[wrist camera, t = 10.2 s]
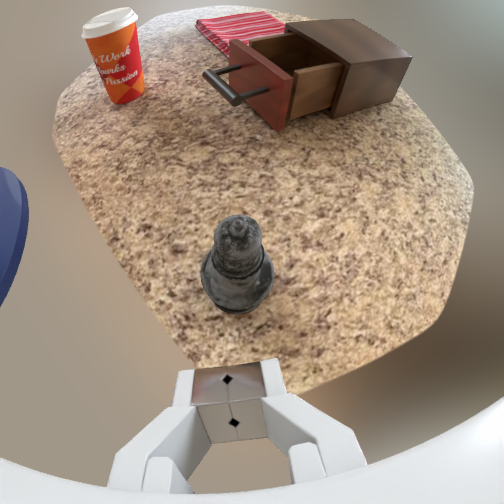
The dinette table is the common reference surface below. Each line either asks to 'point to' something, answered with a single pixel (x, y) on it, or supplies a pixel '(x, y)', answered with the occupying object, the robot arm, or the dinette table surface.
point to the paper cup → (116, 53)
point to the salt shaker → (237, 266)
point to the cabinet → (357, 62)
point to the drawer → (278, 77)
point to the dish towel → (239, 28)
